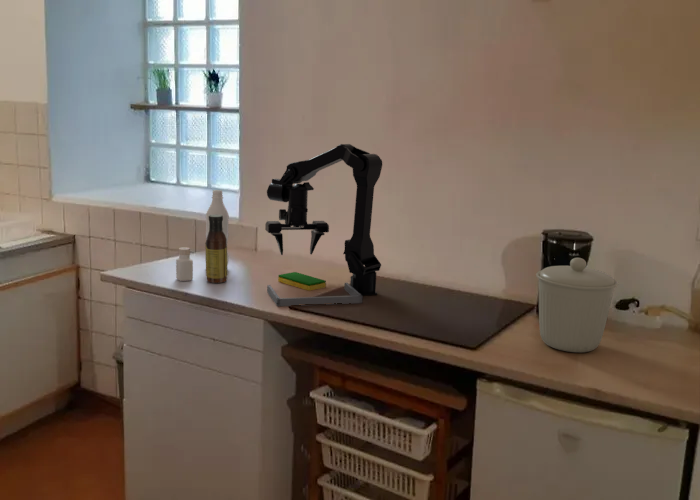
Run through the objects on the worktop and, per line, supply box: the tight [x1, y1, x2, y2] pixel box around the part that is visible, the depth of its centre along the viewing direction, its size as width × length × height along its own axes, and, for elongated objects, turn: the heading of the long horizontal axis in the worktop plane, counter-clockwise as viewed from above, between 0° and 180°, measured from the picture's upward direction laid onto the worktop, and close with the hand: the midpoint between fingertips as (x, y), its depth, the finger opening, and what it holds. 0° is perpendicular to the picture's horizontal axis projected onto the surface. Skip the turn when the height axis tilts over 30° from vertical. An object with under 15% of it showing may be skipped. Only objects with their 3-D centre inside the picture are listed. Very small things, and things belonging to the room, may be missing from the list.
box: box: [266, 282, 364, 307], centre depth 199 cm, size 24×15×2 cm, turn 107°
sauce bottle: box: [204, 214, 228, 284], centre depth 210 cm, size 7×6×20 cm
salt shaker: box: [175, 246, 194, 282], centre depth 211 cm, size 4×4×10 cm
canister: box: [535, 257, 619, 353], centre depth 166 cm, size 18×18×21 cm
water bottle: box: [204, 189, 230, 266], centre depth 225 cm, size 7×7×25 cm
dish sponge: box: [277, 271, 327, 291], centre depth 214 cm, size 7×14×2 cm, turn 46°
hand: (296, 254), depth 220 cm, fingers open, 9 cm apart
